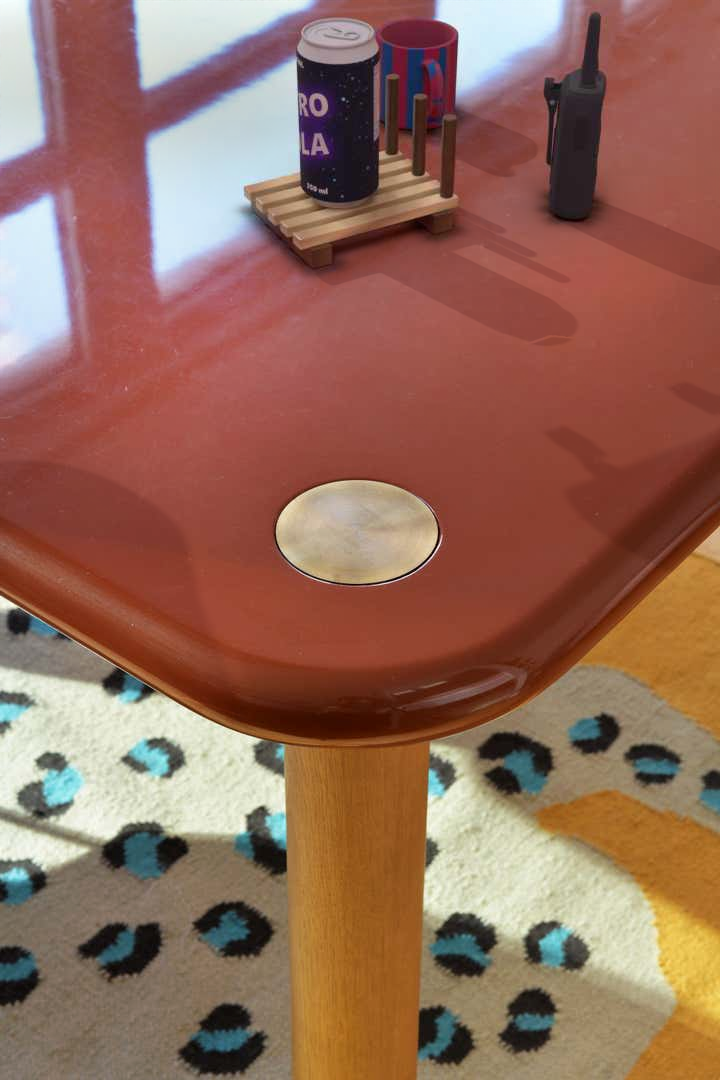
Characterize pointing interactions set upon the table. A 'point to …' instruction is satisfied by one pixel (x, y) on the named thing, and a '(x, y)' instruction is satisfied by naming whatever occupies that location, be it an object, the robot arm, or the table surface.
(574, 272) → the table surface
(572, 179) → the two-way radio
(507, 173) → the table surface
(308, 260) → the drying rack
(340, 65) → the beverage can
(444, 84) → the mug
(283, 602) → the table surface
